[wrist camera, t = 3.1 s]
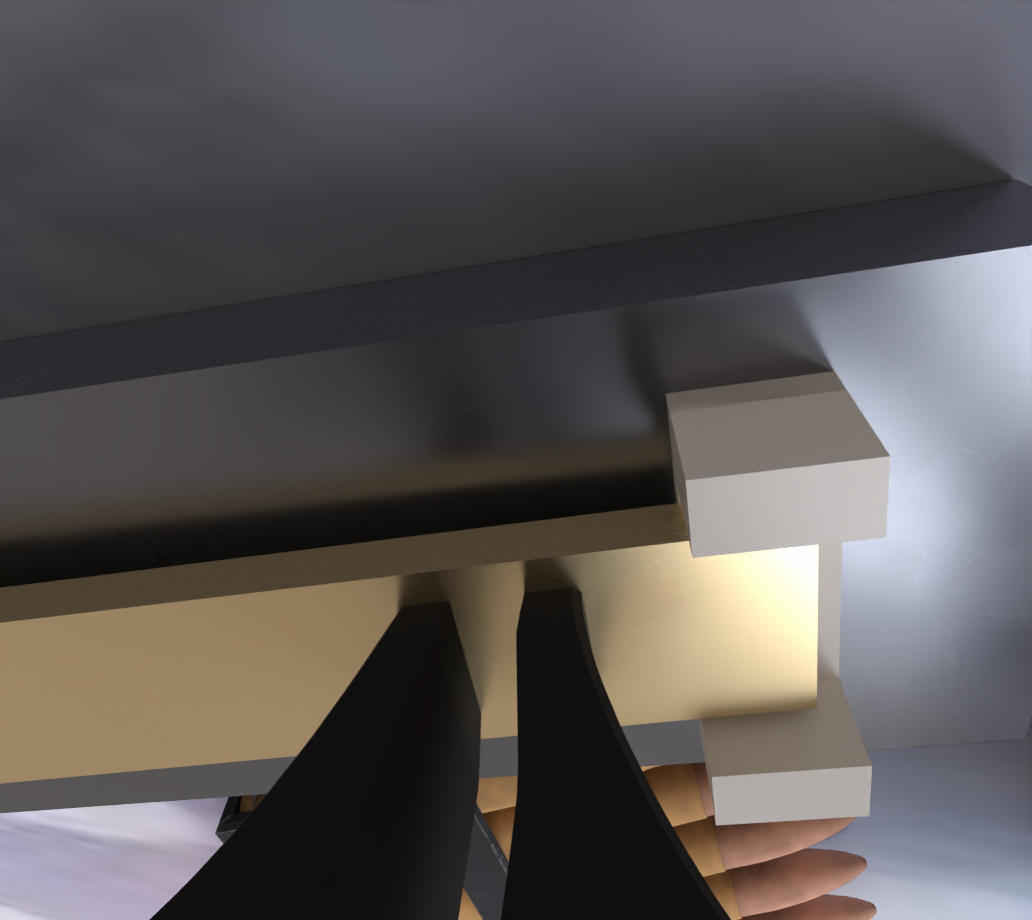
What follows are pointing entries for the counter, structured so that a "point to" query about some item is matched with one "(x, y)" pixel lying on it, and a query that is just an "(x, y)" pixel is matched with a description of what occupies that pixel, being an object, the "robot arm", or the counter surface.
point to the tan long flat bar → (363, 620)
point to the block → (565, 437)
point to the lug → (776, 525)
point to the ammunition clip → (714, 848)
